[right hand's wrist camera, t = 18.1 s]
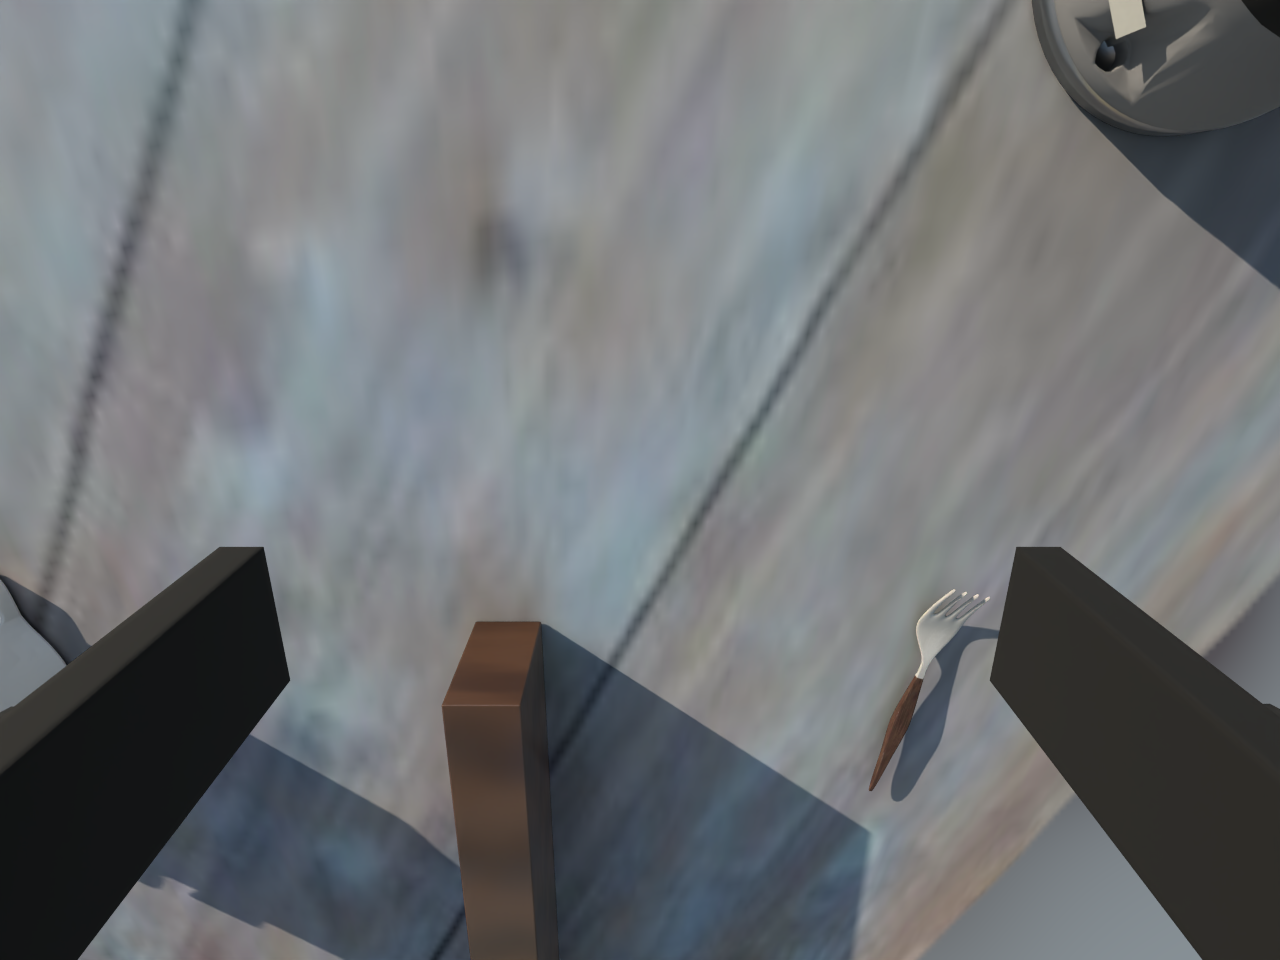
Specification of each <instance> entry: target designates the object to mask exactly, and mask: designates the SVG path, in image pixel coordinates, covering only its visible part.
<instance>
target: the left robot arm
mask: <svg viewBox="0 0 1280 960" xmlns="http://www.w3.org/2000/svg"><path fill="white" fill-rule="evenodd" d="M66 666H67V665H66V664H65V662H64V661H63V659H62V658H61V657H60V655H59V654H58V653H57V652H56V651H55V649H54V648H53V647H52V646H51V645H50V644H49V643H48V642H47V641H46V640H45V639H44V638H43V637H42V636H41V635H40V634H39V633H38V632H37V631H36V630H34V629H33V628H32V627H31V626H30V625H29V624H28V622H27V621H26V620H25V619H24V618H23V617H22V615H21V614H20V612H19V609H18V607H17V605H16V604H15V602H14V600H13V598H12V596H11V594H10V592H9V591H8V589H7V588H6V586H5V585H4V583H3V582H2V581H1V580H0V712H1V711H3V710H5V709H7V708H9V707H11V706H15V705H17V704H18V703H19V702H20V701H22V700H23V699H24V698H26V697H27V696H28V695H29V694H31V693H32V692H33V691H35V690H36V689H37V688H38V687H40V686H41V685H42V684H44V683H45V682H46V681H48V680H49V679H50V678H51V677H53V676H54V675H55V674H57V673H58V672H59V671H60V670H62V669H63V668H64V667H66Z"/></svg>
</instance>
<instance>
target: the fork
mask: <svg viewBox="0 0 1280 960" xmlns="http://www.w3.org/2000/svg"><path fill="white" fill-rule="evenodd" d="M954 592H955V589H953V590H952V591H950V592H949V593H948V594H946V595H945V596H944V597H942V598H941V599H940V600H939V601H937V602H936V603H935V604H934V605H933V606H932V607H931V608H930V609H929V610H927V611H926V612H925V613H924V614H923V615H922V617H921V618H920V619H919V621H918V623H917V627H916V634H917V640H918V643H919V647H920V651H921V656H922V661H921V665H920V667H919V670H918V671H917V673H916V675H915V677H914V678H913V680H912V682H911V683H910V685H909V687H908V688H907V690H906V692H905V693H904V695H903V697H902V698H901V700H900V702H899V704H898V705H897V707H896V709H895V711H894V713H893V715H892V717H891V719H890V722H889V725H888V728H887V731H886V735H885V738H884V742H883V745H882V749H881V752H880V755H879V758H878V761H877V764H876V767H875V770H874V773H873V776H872V779H871V783H870V786H869V791H872V790H873V789H874V787H875V786H876V784H877V783H878V781H879V779H880V777H881V776H882V774H883V772H884V770H885V768H886V766H887V765H888V763H889V761H890V759H891V757H892V756H893V754H894V752H895V750H896V749H897V747H898V745H899V744H900V742H901V740H902V738H903V737H904V735H905V733H906V731H907V729H908V727H909V724H910V721H911V719H912V716H913V713H914V709H915V706H916V703H917V699H918V696H919V692H920V689H921V685H922V682H923V679H924V675H925V672H926V670H927V667H928V665H929V664H930V662H931V661H932V659H933V658H934V657H935V656H936V655H937V654H938V653H939V652H940V651H941V650H942V648H943V647H944V646H945V645H946V644H947V643H948V642H949V641H950V640H951V639H952V638H953V637H954V636H955V635H956V633H957V632H958V631H959V630H960V628H961V627H962V625H963V624H964V623H965V621H966V620H967V619H968V618H969V617H970V616H971V615H972V614H973V613H974V612H975V611H976V610H977V609H979V608H980V607H981V606H982V605H983V604H984V603H986V602H987V601H988V600H990V597H987V598H986V599H984V600H983V601H981V602H980V603H979V604H977V605H976V606H974V607H973V608H972V609H970V610H969V611H968V612H967V613H965V614H964V615H963V616H962V617H960V618H956V617H957V616H958V614H959V613H960V612H961V611H962V610H963V609H965V608H966V607H967V606H968V605H969V604H970V603H971V602H972V601H973V600H975V599H976V598H977V597H978V594H977V595H975V596H973V597H972V598H971V599H969V600H968V601H967V602H965V603H964V604H963V605H961V606H960V607H959V608H957V609H956V610H955V611H954V612H953V613H951V614H950V615H948V616H945V614H946V613H947V612H948V611H949V610H950V609H951V608H952V607H953V606H954V605H955V604H956V603H957V602H958V601H959V600H960V599H961V598H963V597H964V596H965V595H966V594H967V592H964V593H963V594H961V595H960V596H958V597H957V598H956V599H954V600H953V601H952V602H951V603H949V604H948V605H947V606H946V607H945V608H943V609H942V610H941V611H940V612H938V613H936V614H934V612H935V610H936V609H937V608H938V607H939V606H940V605H941V604H942V603H943V602H944V601H945V600H946V599H947V598H948V597H949V596H950V595H952V594H953V593H954Z"/></svg>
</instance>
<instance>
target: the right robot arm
mask: <svg viewBox="0 0 1280 960" xmlns="http://www.w3.org/2000/svg"><path fill="white" fill-rule="evenodd" d="M1032 6H1033V13H1034V20H1035V25H1036V29H1037V33H1038V37H1039V41H1040V43H1041V46H1042V49H1043V52H1044V55H1045V57H1046V59H1047V61H1048V63H1049V65H1050V67H1051V69H1052V71H1053V73H1054V74H1055V76H1056V78H1057V79H1058V81H1059V82H1060V84H1061V85H1062V86H1063V88H1064V89H1065V90H1066V91H1067V93H1068V94H1069V95H1070V96H1071V97H1072V98H1073V99H1074V100H1075V101H1076V102H1077V103H1078V104H1079V105H1080V106H1081V107H1082V108H1084V109H1085V110H1086V111H1088V112H1089V113H1090V114H1091V115H1093V116H1095V117H1096V118H1098V119H1100V120H1101V121H1103V122H1105V123H1107V124H1109V125H1112V126H1114V127H1116V128H1118V129H1122V130H1125V131H1129V132H1132V133H1137V134H1143V135H1150V136H1177V135H1185V134H1191V133H1198V132H1204V131H1210V130H1217V129H1222V128H1226V127H1230V126H1234V125H1238V124H1240V123H1243V122H1246V121H1249V120H1252V119H1254V118H1257V117H1259V116H1261V115H1263V114H1265V113H1268V112H1270V111H1272V110H1274V109H1276V108H1278V107H1280V0H1032ZM289 681H290V677H289V672H288V667H287V662H286V657H285V652H284V647H283V642H282V637H281V632H280V627H279V622H278V617H277V612H276V607H275V602H274V597H273V592H272V587H271V582H270V577H269V572H268V567H267V562H266V557H265V552H264V547H219V548H218V549H216V550H215V551H214V552H213V553H211V554H210V555H209V556H207V557H206V558H205V559H204V560H202V561H201V562H200V563H198V564H197V565H196V566H194V567H193V568H192V569H191V570H189V571H188V572H187V573H185V574H184V575H183V576H182V577H180V578H179V579H178V580H176V581H175V582H174V583H173V584H171V585H170V586H169V587H167V588H166V589H165V590H164V591H162V592H161V593H160V594H158V595H157V596H156V597H155V598H153V599H152V600H151V601H149V602H148V603H147V604H145V605H144V606H143V607H142V608H140V609H139V610H138V611H136V612H135V613H134V614H133V615H131V616H130V617H129V618H127V619H126V620H125V621H124V622H122V623H121V624H120V625H118V626H117V627H116V628H115V629H113V630H112V631H111V632H109V633H108V634H107V635H106V636H104V637H103V638H102V639H100V640H99V641H98V642H97V643H95V644H94V645H93V646H91V647H90V648H89V649H87V650H86V651H85V652H84V653H82V654H81V655H80V656H78V657H77V658H76V659H75V660H73V661H72V662H71V663H69V664H68V665H67V666H66V667H64V668H63V669H62V670H60V671H59V672H58V673H57V674H55V675H54V676H53V677H51V678H50V679H49V680H48V681H46V682H45V683H44V684H42V685H41V686H40V687H38V688H37V689H36V690H35V691H33V692H32V693H31V694H29V695H28V696H27V697H26V698H24V699H23V700H22V701H20V702H19V703H18V704H17V705H15V706H11V707H9V708H7V709H5V710H3V711H1V712H0V960H78V958H79V957H80V956H81V954H82V953H83V952H84V950H85V949H86V948H87V947H88V945H89V944H90V943H91V941H92V940H93V939H94V937H95V936H96V935H97V933H98V932H99V931H100V929H101V928H102V927H103V926H104V924H105V923H106V922H107V920H108V919H109V918H110V916H111V915H112V914H113V912H114V911H115V910H116V908H117V907H118V906H119V905H120V903H121V902H122V901H123V899H124V898H125V897H126V895H127V894H128V893H129V891H130V890H131V889H132V887H133V886H134V885H135V884H136V882H137V881H138V880H139V878H140V877H141V876H142V874H143V873H144V872H145V870H146V869H147V868H148V866H149V865H150V864H151V862H152V861H153V860H154V859H155V857H156V856H157V855H158V853H159V852H160V851H161V849H162V848H163V847H164V845H165V844H166V843H167V841H168V840H169V839H170V838H171V836H172V835H173V834H174V832H175V831H176V830H177V828H178V827H179V826H180V824H181V823H182V822H183V820H184V819H185V818H186V817H187V815H188V814H189V813H190V811H191V810H192V809H193V807H194V806H195V805H196V803H197V802H198V801H199V799H200V798H201V797H202V796H203V794H204V793H205V792H206V790H207V789H208V788H209V786H210V785H211V784H212V782H213V781H214V780H215V778H216V777H217V776H218V775H219V773H220V772H221V771H222V769H223V768H224V767H225V765H226V764H227V763H228V761H229V760H230V759H231V757H232V756H233V755H234V753H235V752H236V751H237V750H238V748H239V747H240V746H241V744H242V743H243V742H244V740H245V739H246V738H247V736H248V735H249V734H250V732H251V731H252V730H253V729H254V727H255V726H256V725H257V723H258V722H259V721H260V719H261V718H262V717H263V715H264V714H265V713H266V711H267V710H268V709H269V708H270V706H271V705H272V704H273V702H274V701H275V700H276V698H277V697H278V696H279V694H280V693H281V692H282V690H283V689H284V688H285V687H286V685H287V684H288V683H289ZM990 681H991V683H992V684H993V685H994V687H995V688H996V689H997V690H998V692H999V693H1000V694H1001V696H1002V697H1003V698H1004V700H1005V701H1006V702H1007V704H1008V705H1009V706H1010V708H1011V709H1012V710H1013V711H1014V713H1015V714H1016V715H1017V717H1018V718H1019V719H1020V721H1021V722H1022V723H1023V725H1024V726H1025V727H1026V729H1027V730H1028V731H1029V732H1030V734H1031V735H1032V736H1033V738H1034V739H1035V740H1036V742H1037V743H1038V744H1039V746H1040V747H1041V748H1042V750H1043V751H1044V752H1045V753H1046V755H1047V756H1048V757H1049V759H1050V760H1051V761H1052V763H1053V764H1054V765H1055V767H1056V768H1057V769H1058V771H1059V772H1060V773H1061V775H1062V776H1063V777H1064V778H1065V780H1066V781H1067V782H1068V784H1069V785H1070V786H1071V788H1072V789H1073V790H1074V792H1075V793H1076V794H1077V796H1078V797H1079V798H1080V799H1081V801H1082V802H1083V803H1084V805H1085V806H1086V807H1087V809H1088V810H1089V811H1090V813H1091V814H1092V815H1093V816H1094V818H1095V819H1096V820H1097V822H1098V823H1099V824H1100V826H1101V827H1102V828H1103V830H1104V831H1105V832H1106V834H1107V835H1108V836H1109V838H1110V839H1111V840H1112V841H1113V843H1114V844H1115V845H1116V847H1117V848H1118V849H1119V851H1120V852H1121V853H1122V855H1123V856H1124V857H1125V859H1126V860H1127V861H1128V862H1129V864H1130V865H1131V866H1132V868H1133V869H1134V870H1135V872H1136V873H1137V874H1138V876H1139V877H1140V878H1141V880H1142V881H1143V882H1144V883H1145V885H1146V886H1147V887H1148V889H1149V890H1150V891H1151V893H1152V894H1153V895H1154V897H1155V898H1156V899H1157V901H1158V902H1159V903H1160V904H1161V906H1162V907H1163V908H1164V910H1165V911H1166V912H1167V914H1168V915H1169V916H1170V918H1171V919H1172V920H1173V922H1174V923H1175V924H1176V926H1177V927H1178V928H1179V929H1180V931H1181V932H1182V933H1183V935H1184V936H1185V937H1186V939H1187V940H1188V941H1189V943H1190V944H1191V945H1192V947H1193V948H1194V949H1195V950H1196V952H1197V953H1198V954H1199V956H1200V957H1201V958H1202V960H1280V709H1279V708H1277V707H1275V706H1273V705H1271V704H1262V703H1261V702H1260V701H1258V700H1257V699H1256V698H1254V697H1253V696H1252V695H1251V694H1249V693H1248V692H1247V691H1245V690H1244V689H1243V688H1241V687H1240V686H1239V685H1238V684H1236V683H1235V682H1234V681H1232V680H1231V679H1230V678H1229V677H1227V676H1226V675H1225V674H1223V673H1222V672H1221V671H1220V670H1218V669H1217V668H1216V667H1214V666H1213V665H1212V664H1210V663H1209V662H1208V661H1207V660H1205V659H1204V658H1203V657H1202V656H1200V655H1199V654H1198V653H1196V652H1195V651H1194V650H1193V649H1191V648H1190V647H1189V646H1187V645H1186V644H1185V643H1183V642H1182V641H1181V640H1180V639H1178V638H1177V637H1176V636H1174V635H1173V634H1172V633H1171V632H1169V631H1168V630H1167V629H1165V628H1164V627H1163V626H1162V625H1160V624H1159V623H1158V622H1156V621H1155V620H1154V619H1153V618H1151V617H1150V616H1149V615H1147V614H1146V613H1145V612H1144V611H1142V610H1141V609H1140V608H1138V607H1137V606H1136V605H1135V604H1133V603H1132V602H1131V601H1129V600H1128V599H1127V598H1125V597H1124V596H1123V595H1122V594H1120V593H1119V592H1118V591H1116V590H1115V589H1114V588H1113V587H1111V586H1110V585H1109V584H1107V583H1106V582H1105V581H1104V580H1102V579H1101V578H1100V577H1098V576H1097V575H1096V574H1095V573H1093V572H1092V571H1091V570H1089V569H1088V568H1087V567H1086V566H1084V565H1083V564H1082V563H1080V562H1079V561H1078V560H1076V559H1075V558H1074V557H1073V556H1071V555H1070V554H1069V553H1067V552H1066V551H1065V550H1064V549H1062V548H1061V547H1016V552H1015V557H1014V562H1013V567H1012V572H1011V577H1010V582H1009V587H1008V592H1007V597H1006V602H1005V607H1004V612H1003V617H1002V622H1001V627H1000V632H999V637H998V642H997V647H996V652H995V657H994V662H993V667H992V672H991V677H990Z"/></svg>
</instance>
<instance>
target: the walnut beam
mask: <svg viewBox="0 0 1280 960" xmlns="http://www.w3.org/2000/svg"><path fill="white" fill-rule="evenodd" d="M442 712H443V721H444V730H445V738H446V747H447V756H448V765H449V774H450V782H451V791H452V800H453V809H454V817H455V826H456V835H457V844H458V853H459V861H460V870H461V879H462V888H463V896H464V905H465V914H466V923H467V932H468V940H469V949H470V958H471V960H559V947H558V929H557V910H556V891H555V873H554V854H553V835H552V816H551V798H550V779H549V760H548V742H547V723H546V704H545V686H544V667H543V648H542V629H541V622H476V623H475V625H474V628H473V630H472V633H471V635H470V638H469V640H468V643H467V645H466V648H465V650H464V652H463V655H462V657H461V660H460V662H459V665H458V667H457V670H456V672H455V674H454V677H453V679H452V682H451V684H450V687H449V689H448V692H447V694H446V697H445V699H444V701H443V704H442Z"/></svg>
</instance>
